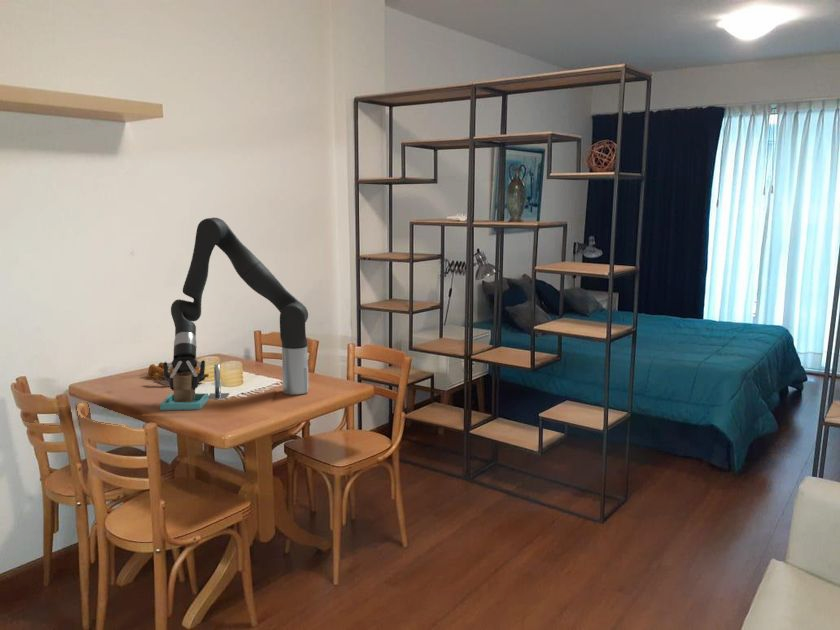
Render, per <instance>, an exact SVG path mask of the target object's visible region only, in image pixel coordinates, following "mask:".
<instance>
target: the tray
mask: <svg viewBox="0 0 840 630" xmlns="http://www.w3.org/2000/svg"><path fill="white" fill-rule="evenodd" d="M208 396H209V393H208V392H207V393H195V398H194V399H193V401H192V402H174V393H169V395H167V397H165V399H164V400H162V402H160V404H159V405H160V406H159V408H160V411H186V410H187V411H189V410H191V411H192V410H193V411H195V410H198V411H199V410H202V409H203V407H204V405H205V404H207V402H208V400H209V399H208Z"/></svg>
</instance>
